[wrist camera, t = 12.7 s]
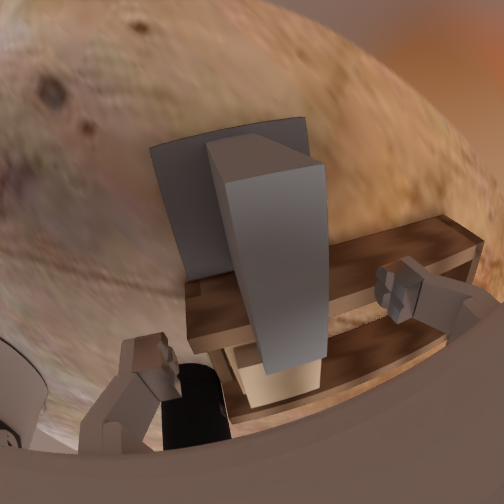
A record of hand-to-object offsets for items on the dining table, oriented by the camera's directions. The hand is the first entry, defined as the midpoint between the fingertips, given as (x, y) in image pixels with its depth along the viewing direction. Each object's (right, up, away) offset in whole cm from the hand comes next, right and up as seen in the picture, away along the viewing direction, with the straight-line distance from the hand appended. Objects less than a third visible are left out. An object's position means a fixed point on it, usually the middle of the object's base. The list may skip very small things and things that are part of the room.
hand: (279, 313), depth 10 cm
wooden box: (+7, -3, +16) cm, 18 cm away
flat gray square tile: (-2, +6, +9) cm, 11 cm away
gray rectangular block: (-2, +5, +9) cm, 10 cm away
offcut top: (+1, -7, +12) cm, 13 cm away
